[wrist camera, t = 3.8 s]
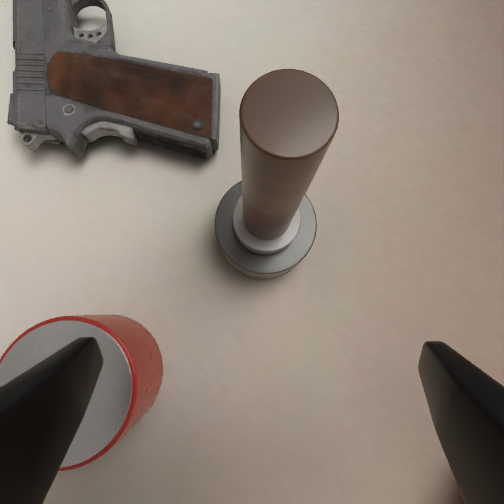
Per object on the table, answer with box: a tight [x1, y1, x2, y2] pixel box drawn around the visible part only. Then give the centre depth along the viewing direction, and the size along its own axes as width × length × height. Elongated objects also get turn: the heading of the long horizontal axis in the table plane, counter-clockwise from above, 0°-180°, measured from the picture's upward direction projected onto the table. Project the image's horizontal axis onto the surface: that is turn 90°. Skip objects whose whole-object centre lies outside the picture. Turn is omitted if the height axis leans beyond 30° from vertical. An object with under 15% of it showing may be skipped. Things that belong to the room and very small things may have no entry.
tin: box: [0, 315, 163, 471], centre depth 18 cm, size 7×7×5 cm
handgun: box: [7, 0, 220, 158], centre depth 24 cm, size 3×22×14 cm
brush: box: [215, 69, 339, 279], centre depth 15 cm, size 6×6×14 cm
